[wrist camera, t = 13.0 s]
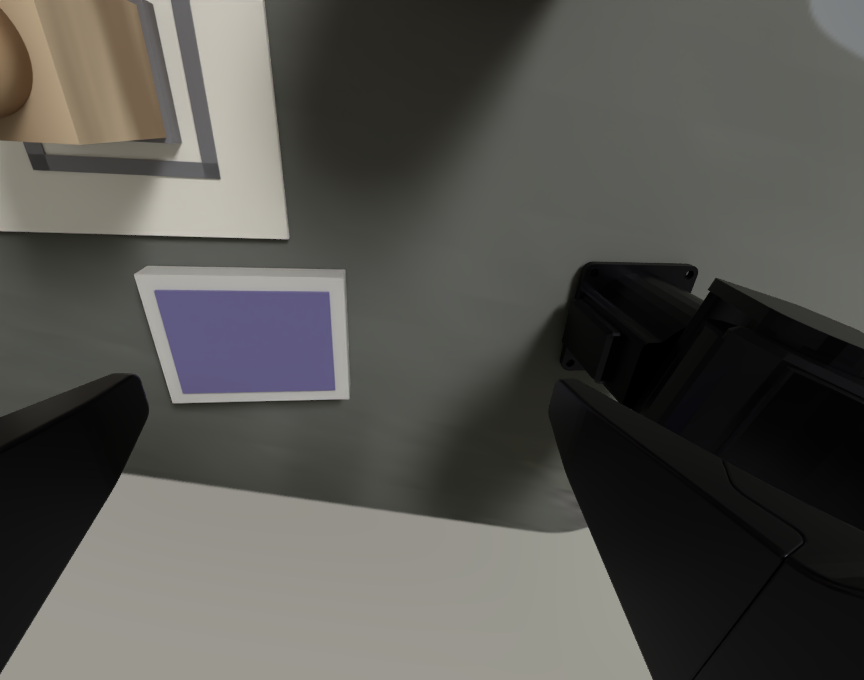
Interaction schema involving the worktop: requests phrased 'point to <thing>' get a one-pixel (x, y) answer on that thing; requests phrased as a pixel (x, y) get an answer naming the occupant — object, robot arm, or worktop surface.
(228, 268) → the ink pad
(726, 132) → the worktop surface
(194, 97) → the print card
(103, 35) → the stamp
